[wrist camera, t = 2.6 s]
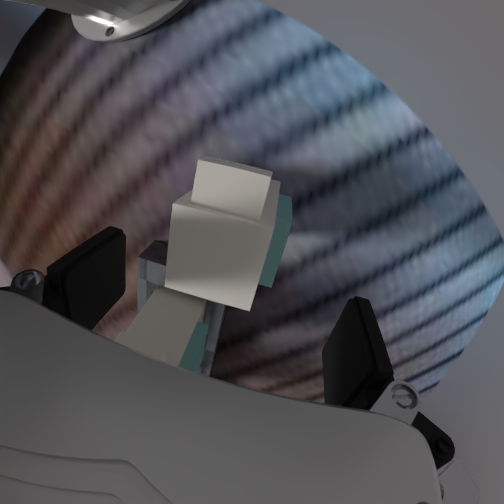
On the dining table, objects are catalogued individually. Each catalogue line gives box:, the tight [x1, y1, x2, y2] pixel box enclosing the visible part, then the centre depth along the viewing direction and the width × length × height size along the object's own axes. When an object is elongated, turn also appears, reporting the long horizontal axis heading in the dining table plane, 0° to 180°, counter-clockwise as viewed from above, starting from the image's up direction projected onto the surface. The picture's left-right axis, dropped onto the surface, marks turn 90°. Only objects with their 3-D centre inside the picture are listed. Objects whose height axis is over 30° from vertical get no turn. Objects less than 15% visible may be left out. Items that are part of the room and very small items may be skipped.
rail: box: [137, 241, 227, 377], centre depth 26 cm, size 25×7×3 cm, turn 166°
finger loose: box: [165, 156, 293, 311], centre depth 15 cm, size 6×5×9 cm
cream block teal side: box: [114, 285, 209, 373], centre depth 17 cm, size 6×5×9 cm
